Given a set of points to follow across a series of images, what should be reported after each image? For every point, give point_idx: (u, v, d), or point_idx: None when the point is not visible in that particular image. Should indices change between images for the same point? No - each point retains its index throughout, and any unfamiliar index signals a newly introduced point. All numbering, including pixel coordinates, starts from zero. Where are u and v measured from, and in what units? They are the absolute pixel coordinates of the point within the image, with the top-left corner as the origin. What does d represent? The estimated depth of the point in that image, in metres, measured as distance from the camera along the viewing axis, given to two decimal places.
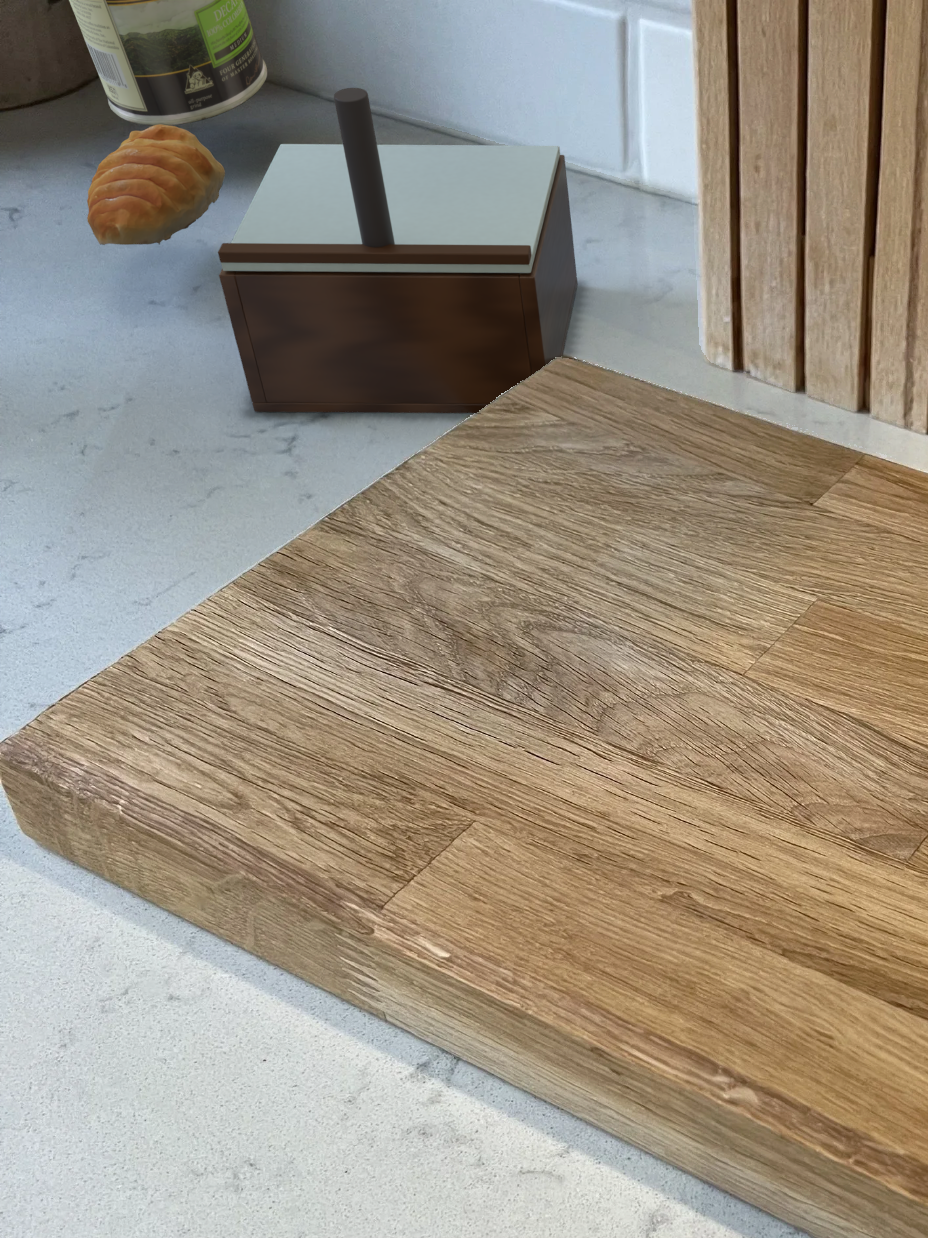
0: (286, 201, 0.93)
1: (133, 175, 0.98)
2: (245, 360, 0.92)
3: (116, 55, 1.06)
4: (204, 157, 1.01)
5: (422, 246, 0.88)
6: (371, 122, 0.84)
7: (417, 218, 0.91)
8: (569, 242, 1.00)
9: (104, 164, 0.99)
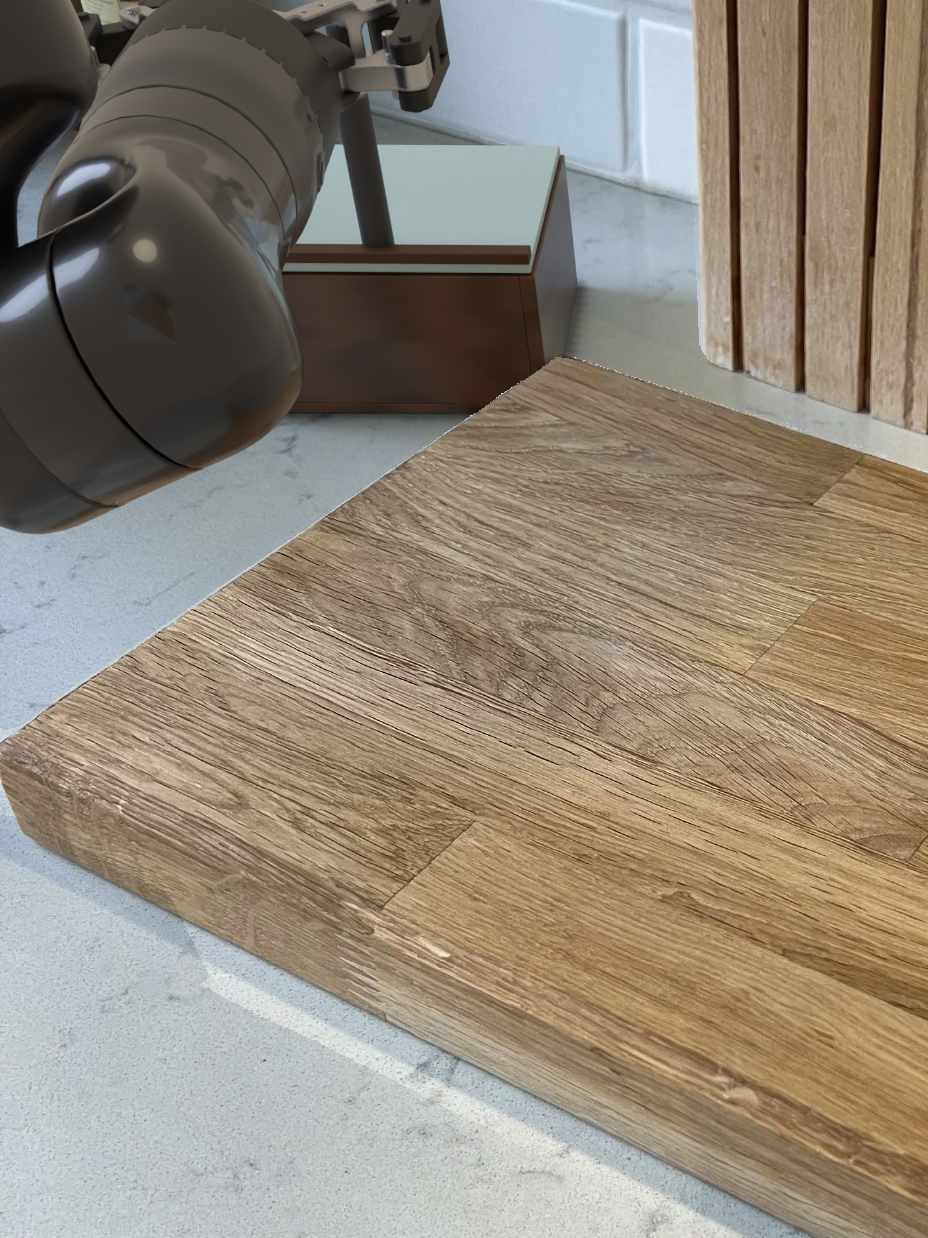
0: None
1: None
2: None
3: None
4: None
5: (422, 246, 0.88)
6: (371, 122, 0.84)
7: (417, 218, 0.91)
8: (569, 242, 1.00)
9: None
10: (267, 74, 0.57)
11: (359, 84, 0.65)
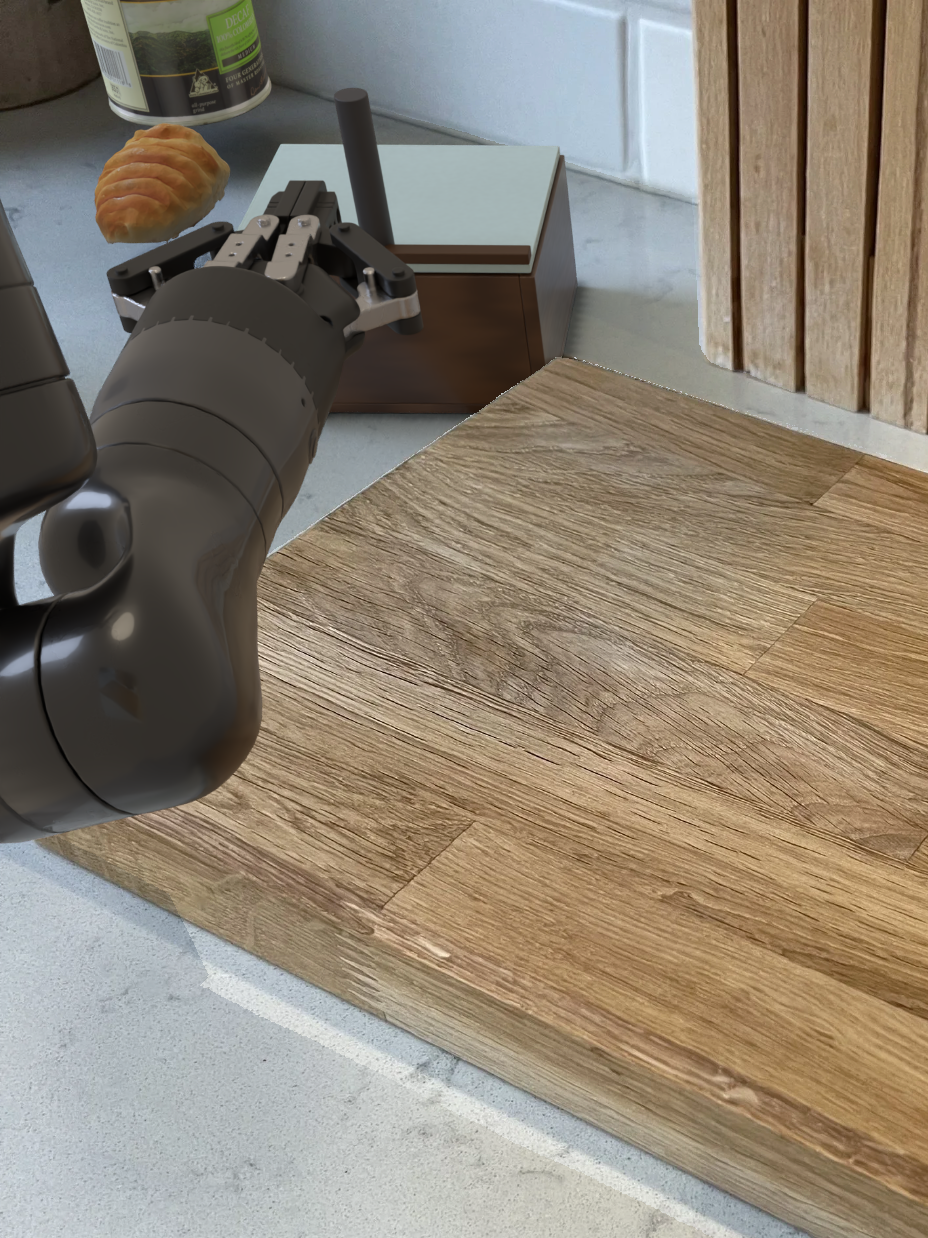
0: None
1: (140, 174, 0.98)
2: None
3: (123, 53, 1.07)
4: (210, 155, 1.01)
5: (422, 246, 0.88)
6: (371, 122, 0.84)
7: (417, 218, 0.91)
8: (569, 242, 1.00)
9: (110, 163, 1.00)
10: (264, 370, 0.62)
11: (368, 323, 0.70)
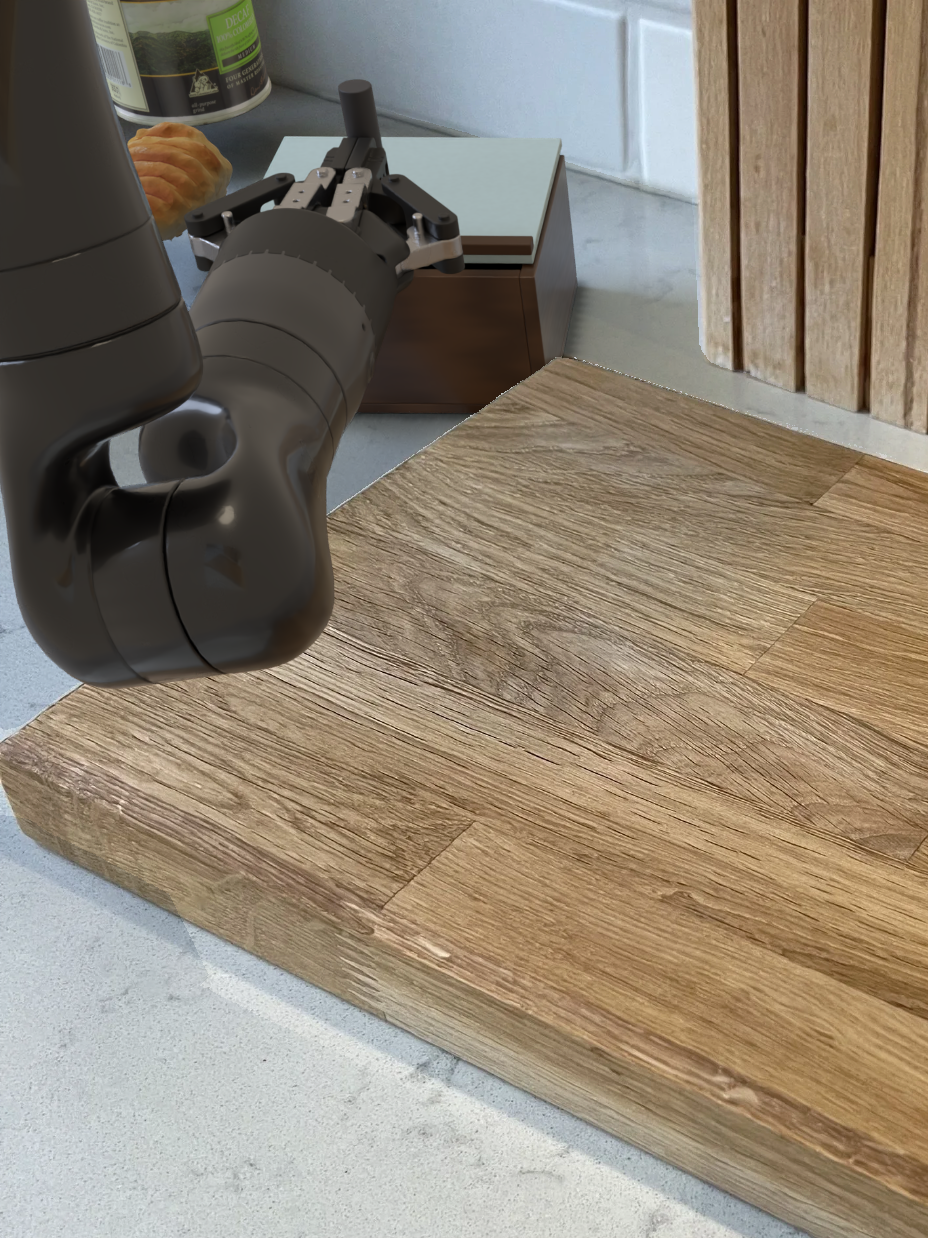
0: None
1: (143, 172, 0.98)
2: None
3: (123, 53, 1.07)
4: (213, 154, 1.01)
5: None
6: (375, 113, 0.85)
7: None
8: (569, 242, 1.00)
9: None
10: (330, 297, 0.71)
11: (416, 263, 0.78)
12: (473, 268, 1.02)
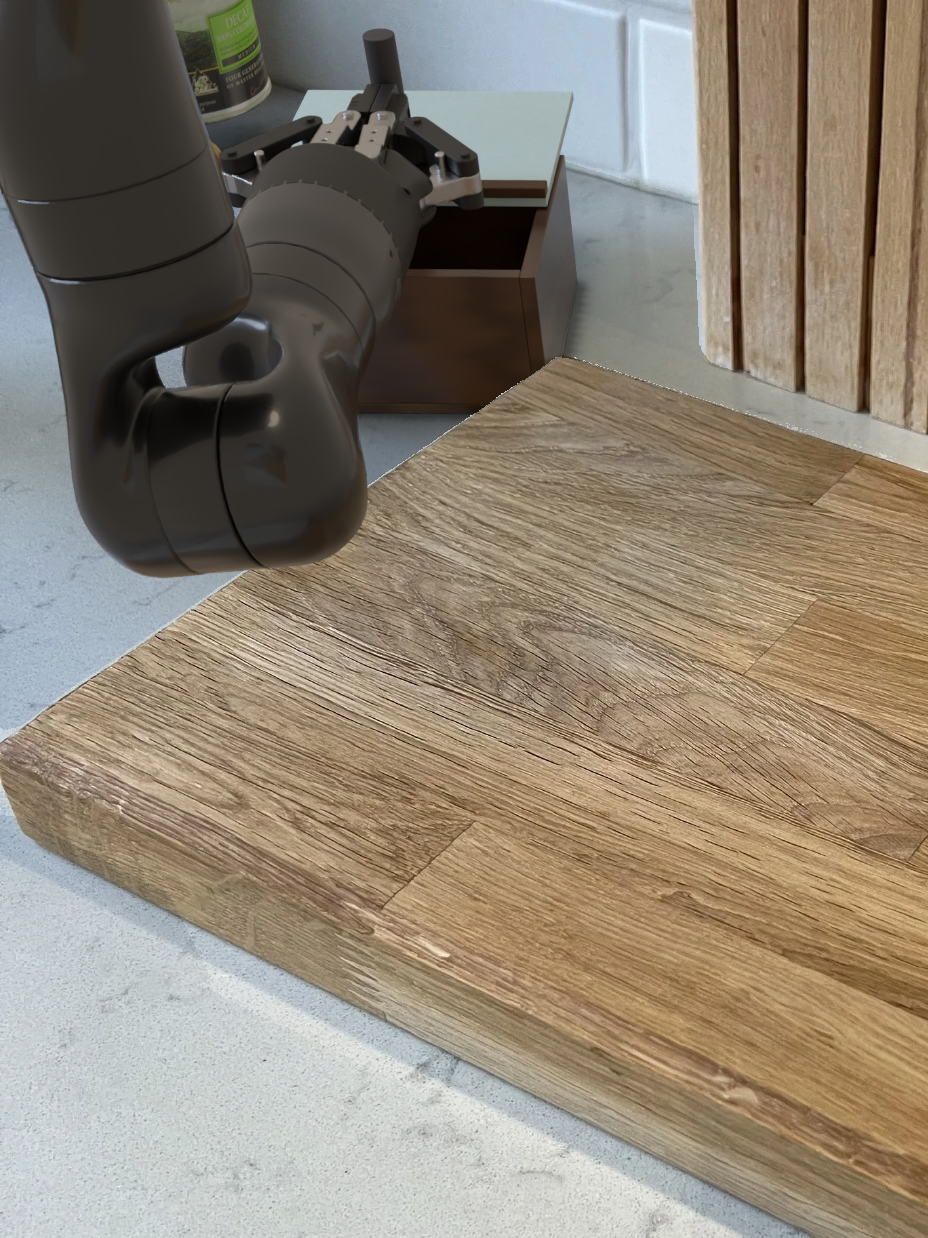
0: None
1: None
2: None
3: None
4: None
5: None
6: (397, 61, 0.89)
7: None
8: (569, 242, 1.00)
9: None
10: (360, 224, 0.75)
11: (439, 198, 0.83)
12: (473, 268, 1.02)
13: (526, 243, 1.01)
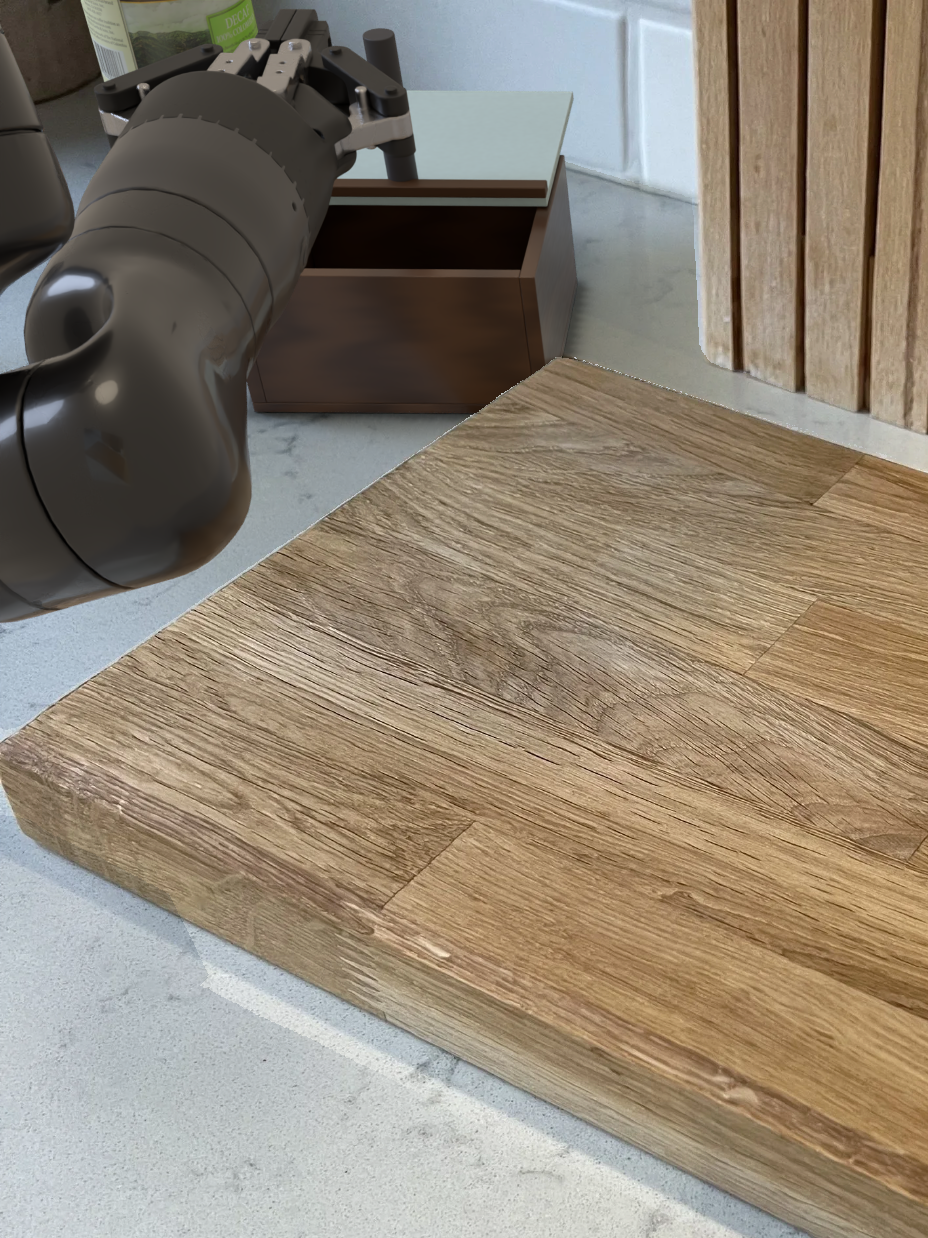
0: None
1: None
2: None
3: (123, 53, 1.07)
4: None
5: (444, 181, 0.93)
6: (397, 61, 0.89)
7: (439, 156, 0.96)
8: (569, 242, 1.00)
9: None
10: (254, 169, 0.61)
11: (360, 142, 0.69)
12: (473, 268, 1.02)
13: (526, 243, 1.01)
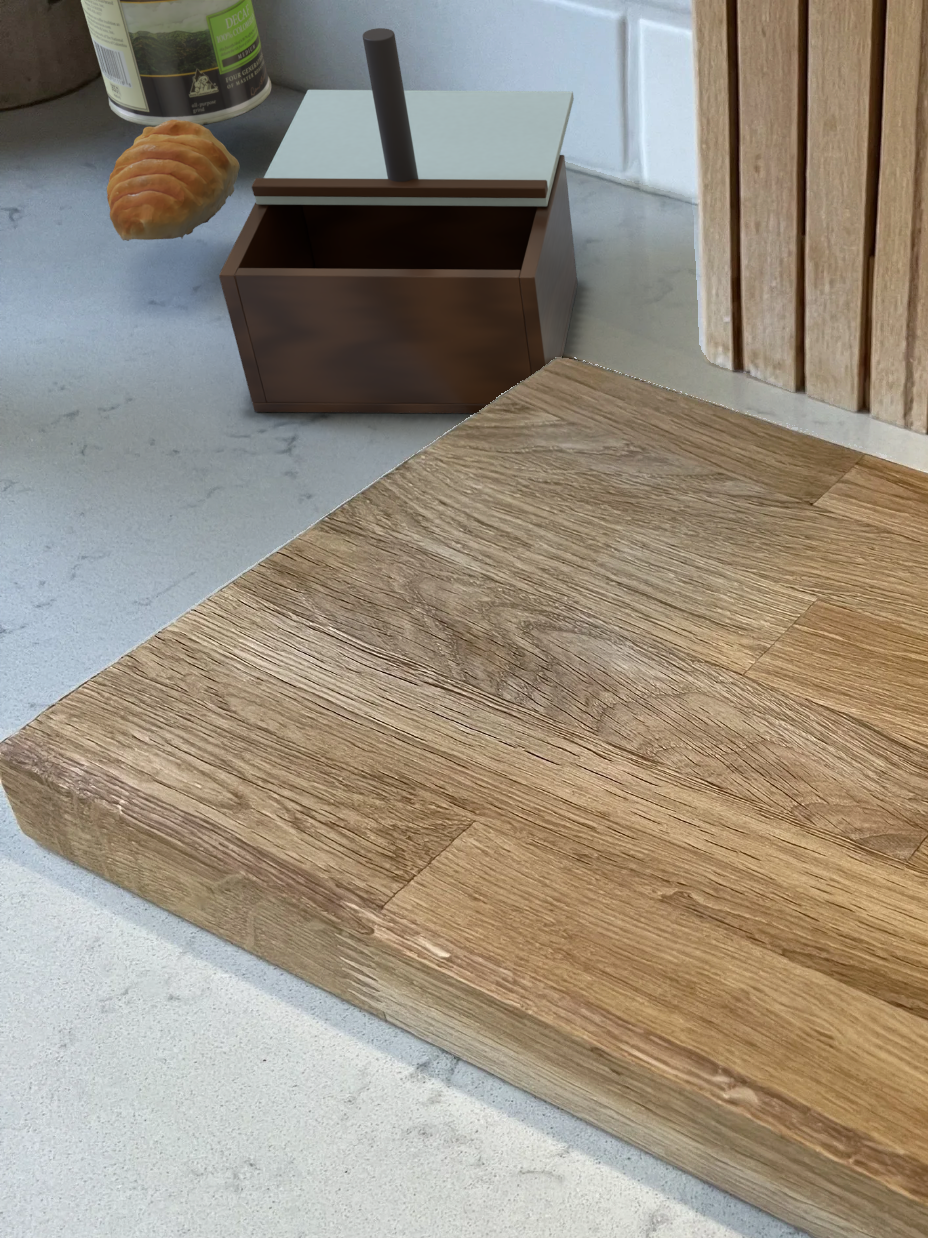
0: (314, 140, 0.98)
1: (153, 170, 0.99)
2: (245, 360, 0.92)
3: (123, 53, 1.07)
4: (220, 151, 1.02)
5: (444, 181, 0.93)
6: (397, 61, 0.89)
7: (439, 156, 0.96)
8: (569, 242, 1.00)
9: (122, 160, 1.00)
10: None
11: None
12: (473, 268, 1.02)
13: (526, 243, 1.01)
